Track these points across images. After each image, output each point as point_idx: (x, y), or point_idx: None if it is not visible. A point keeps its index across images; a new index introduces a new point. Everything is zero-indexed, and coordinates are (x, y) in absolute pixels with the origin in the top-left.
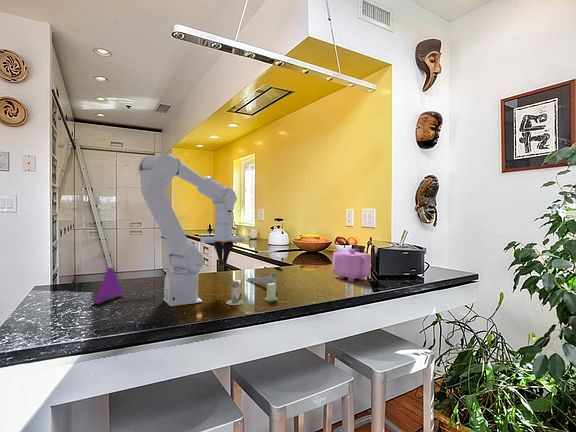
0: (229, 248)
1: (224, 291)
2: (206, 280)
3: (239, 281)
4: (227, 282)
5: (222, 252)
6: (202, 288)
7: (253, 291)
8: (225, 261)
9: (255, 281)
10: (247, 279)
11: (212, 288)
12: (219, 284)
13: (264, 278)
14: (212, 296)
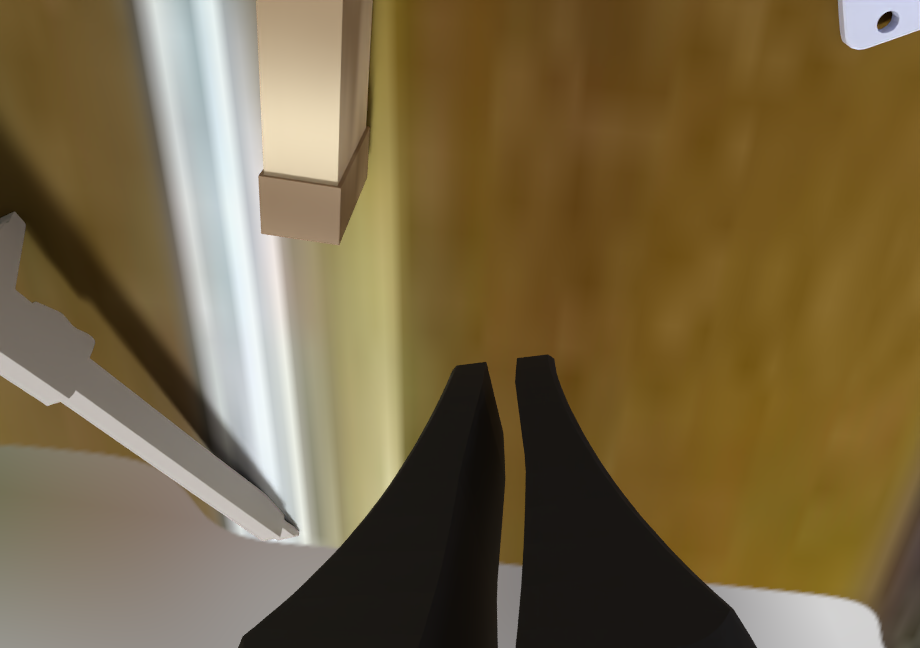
0: (344, 592)
1: (483, 229)
2: None
3: (275, 84)
4: None
5: (529, 508)
6: (683, 354)
7: (186, 195)
8: (463, 394)
9: (199, 447)
10: (284, 528)
11: (591, 344)
12: (517, 453)
13: (56, 372)
14: (629, 33)
